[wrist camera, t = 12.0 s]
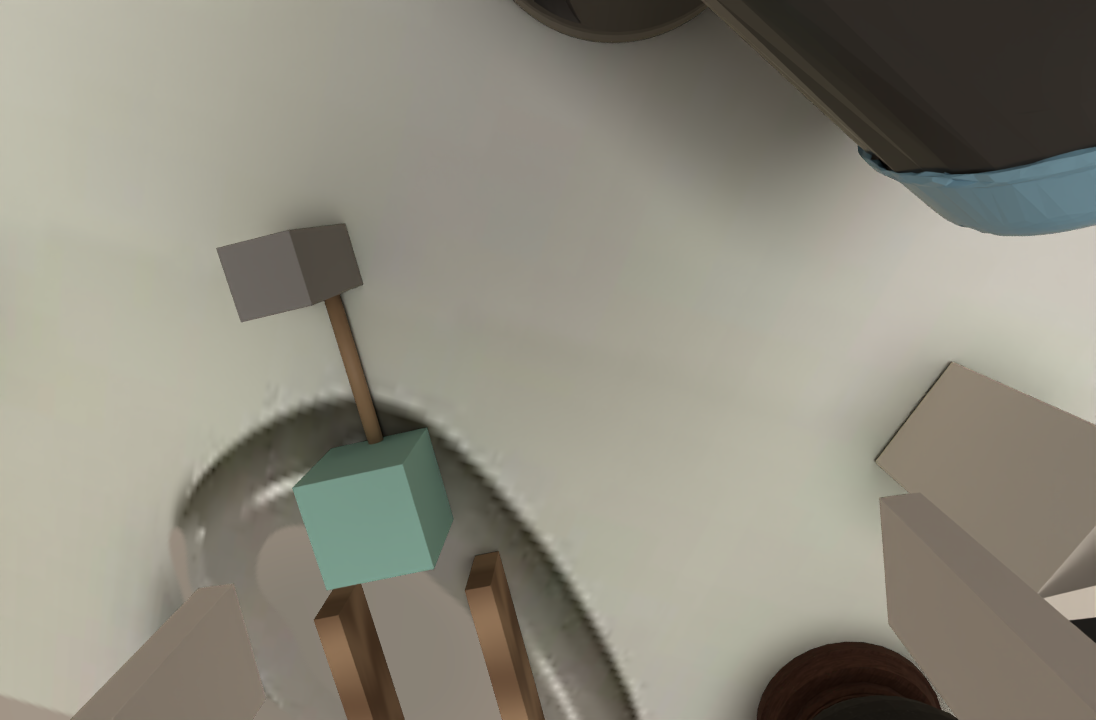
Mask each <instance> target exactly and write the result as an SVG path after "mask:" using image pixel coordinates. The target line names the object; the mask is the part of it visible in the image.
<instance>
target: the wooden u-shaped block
mask: <svg viewBox="0 0 1096 720" xmlns="http://www.w3.org/2000/svg"><path fill="white" fill-rule="evenodd" d="M465 593H466V596H467V600H468V603H469V607H470V610H471V614H472V617H473V620H474V624H475V627H476V631H477V634H478V638H479V641H480V645H481V648H482V651H483V655H484V658H485V662H486V665H487V669H488V672H489V676H490V679H491V683H492V686H493V690H494V693H495V697H496V700H497V703H498V707H499V710H500V714H501V717H502V720H545V718H544V715H543V711H542V707H541V704H540V700H539V697H538V693H537V689H536V686H535V682H534V678H533V675H532V671H531V667H530V664H529V660H528V656H527V653H526V649H525V645H524V642H523V638H522V635H521V631H520V627H519V624H518V620H517V616H516V613H515V609H514V605H513V602H512V598H511V594H510V591H509V587H508V584H507V580H506V576H505V573H504V569H503V565H502V562H501V558H500V554H499V551H497V552H492V553H487V554H482V555H477V556H475V558H474V561H473V565H472V568H471V572H470V575H469V578H468V582H467V585H466V589H465ZM314 622H315V625H316V628H317V631H318V634H319V637H320V640H321V643H322V646H323V649H324V651H325V654H326V657H327V660H328V663H329V666H330V669H331V672H332V675H333V678H334V681H335V684H336V687H337V690H338V693H339V696H340V699H341V701H342V704H343V707H344V710H345V713H346V716H347V719H348V720H404V716H403V713H402V710H401V707H400V703H399V700H398V697H397V694H396V691H395V688H394V685H393V682H392V678H391V675H390V672H389V669H388V666H387V663H386V660H385V657H384V654H383V651H382V647H381V644H380V641H379V638H378V635H377V632H376V629H375V626H374V622H373V619H372V617H371V613H370V610H369V607H368V604H367V601H366V598H365V595H364V591H363V588H362V585H361V584H356V585H351V586H346V587H341V588H336V589H333V590H332V592H331V594H330V595H329V597H328V598H327V600H326V601H325V603H324V605H323V606H322V608H321V609H320V611H319V613H318V614H317V616H316V617H315V619H314Z"/></svg>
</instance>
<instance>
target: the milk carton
mask: <svg viewBox="0 0 1096 720" xmlns="http://www.w3.org/2000/svg"><path fill="white" fill-rule="evenodd" d="M876 464H878V465H879V466H880V467H881V468H882V469H883V470H884V471H885V472H886V473H887V474H889V475H890V476H891V477H892V478H893V479H894V480H895V481H896V482H897V483H899V484H900V485H901V486H902V487H903V488H904V489H905V490H906V491H907V492H909V493H918V492H920V493H921V494H922V495H924V496H925V497H926V498H927V499H928V500H929V501H931V502H932V503H933V504H934V505H935V506H936V507H938V508H939V509H940V510H941V511H942V512H943V513H945V514H946V515H947V516H948V517H949V518H950V519H952V520H953V521H954V522H955V523H956V524H957V525H959V526H960V527H961V528H962V529H963V530H964V531H966V532H967V533H968V534H969V535H970V536H971V537H972V538H974V539H975V540H976V541H977V542H978V543H979V544H981V545H982V546H983V547H984V548H985V549H986V550H988V551H989V552H990V553H991V554H992V555H993V556H995V557H996V558H997V559H998V560H999V561H1000V562H1002V563H1003V564H1004V565H1005V566H1006V567H1007V568H1009V569H1010V570H1011V571H1012V572H1013V573H1014V574H1016V575H1017V576H1018V577H1019V578H1020V579H1021V580H1023V581H1024V582H1025V583H1026V584H1027V585H1028V586H1029V587H1031V588H1032V589H1033V590H1034V591H1035V592H1036V593H1038V594H1039V595H1040V596H1041V597H1042V598H1043V599H1045V600H1046V601H1047V602H1048V603H1049V604H1050V605H1052V606H1053V607H1054V608H1055V609H1056V610H1057V611H1059V612H1060V613H1061V614H1062V615H1063V616H1064V617H1066V618H1067V619H1068V620H1076V619H1085V618H1093V617H1096V425H1095V424H1092V423H1090V422H1088V421H1086V420H1083V419H1081V418H1079V417H1077V416H1074V415H1072V414H1070V413H1068V412H1065V411H1063V410H1061V409H1059V408H1056V407H1054V406H1052V405H1050V404H1047V403H1045V402H1043V401H1040V400H1038V399H1036V398H1034V397H1031V396H1029V395H1027V394H1025V393H1022V392H1020V391H1018V390H1016V389H1013V388H1011V387H1009V386H1007V385H1004V384H1002V383H1000V382H998V381H995V380H993V379H991V378H988V377H986V376H984V375H982V374H979V373H977V372H975V371H973V370H970V369H968V368H966V367H964V366H961V365H959V364H957V363H954V362H952V363H951V364H950V365H949V366H948V368H947V369H946V370H945V372H944V373H943V374H942V375H941V377H940V378H939V379H938V381H937V382H936V383H935V385H934V386H933V387H932V388H931V390H930V391H929V392H928V394H927V395H926V396H925V398H924V399H923V400H922V401H921V403H920V404H919V405H918V407H917V408H916V409H915V411H914V412H913V413H912V414H911V416H910V417H909V418H908V420H907V421H906V422H905V424H904V425H903V426H902V427H901V429H900V430H899V431H898V433H897V434H896V435H895V437H894V438H893V439H892V441H891V442H890V443H889V444H888V446H887V447H886V448H885V450H884V451H883V452H882V454H881V455H880V456H879V457H878V459H877V460H876Z"/></svg>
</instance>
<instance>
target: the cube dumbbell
mask: <svg viewBox="0 0 1096 720" xmlns="http://www.w3.org/2000/svg"><path fill="white" fill-rule="evenodd" d="M216 249H217V252H218V255H219V258H220V261H221V264H222V267H223V270H224V273H225V276H226V279H227V282H228V285H229V288H230V291H231V294H232V297H233V300H234V303H235V306H236V309H237V312H238V315H239V318H240V321H241V322H245V321H249V320H253V319H257V318H261V317H266V316H270V315H274V314H278V313H282V312H286V311H290V310H295V309H299V308H303V307H307V306H311V305H314V304H316V303H319V302H321V301H325V305H326V308H327V311H328V314H329V318H330V321H331V324H332V327H333V330H334V334H335V337H336V340H337V343H338V347H339V350H340V353H341V356H342V360H343V363H344V366H345V369H346V373H347V376H348V379H349V382H350V386H351V389H352V392H353V395H354V399H355V402H356V405H357V408H358V412H359V415H360V418H361V421H362V424H363V428H364V431H365V434H366V437H367V441H363V442H358V443H354V444H349V445H345V446H340V447H336V448H331V449H330V450H329V451H328V452H327V453H326V454H325V455H324V456H323V457H322V458H321V459H320V460H319V461H318V462H317V463H316V465H315V466H314V467H313V468H312V469H311V470H310V471H309V472H308V473H307V474H306V475H305V476H304V477H303V478H302V479H301V480H300V481H299V482H298V483H297V484H296V485H295V486H294V487H293V488H292V489H293V492H294V495H295V498H296V501H297V503H298V506H299V509H300V512H301V515H302V518H303V521H304V524H305V527H306V530H307V533H308V536H309V539H310V542H311V545H312V548H313V551H314V554H315V557H316V560H317V563H318V566H319V568H320V572H321V575H322V578H323V581H324V583H325V587H326V590H331V589H336V588H341V587H346V586H351V585H356V584H361V583H366V582H371V581H376V580H381V579H386V578H391V577H396V576H401V575H406V574H411V573H416V572H421V571H426V570H431V569H434V567H435V565H436V562H437V560H438V557H439V555H440V552H441V550H442V547H443V545H444V542H445V539H446V537H447V534H448V532H449V529H450V527H451V524H452V522H453V516H452V512H451V509H450V505H449V502H448V499H447V495H446V492H445V488H444V485H443V481H442V478H441V474H440V471H439V467H438V464H437V460H436V457H435V454H434V450H433V447H432V443H431V440H430V436H429V433H428V429H427V427H426V428H422V429H417V430H413V431H408V432H404V433H399V434H395V435H390V436H386V437H383V436H382V432H381V429H380V426H379V422H378V419H377V416H376V412H375V409H374V406H373V403H372V399H371V396H370V393H369V389H368V386H367V383H366V380H365V376H364V373H363V370H362V366H361V363H360V360H359V356H358V353H357V350H356V347H355V343H354V340H353V337H352V333H351V330H350V327H349V324H348V320H347V317H346V314H345V310H344V307H343V304H342V300H341V297H340V294H341V293H343V292H346V291H348V290H351V289H353V288H356V287H358V286H361V285H363V282H362V279H361V275H360V272H359V268H358V265H357V262H356V258H355V255H354V252H353V248H352V245H351V241H350V238H349V235H348V231H347V228H346V224H336V225H327V226H319V227H310V228H302V229H293V230H287V231H283V232H279V233H275V234H271V235H267V236H263V237H259V238H255V239H251V240H247V241H243V242H239V243H235V244H231V245H227V246H223V247H219V248H216Z"/></svg>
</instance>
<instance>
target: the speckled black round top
mask: <svg viewBox="0 0 1096 720" xmlns="http://www.w3.org/2000/svg"><path fill="white" fill-rule="evenodd" d="M757 720H958V719H957V718H956V717H954V716H953V715H951V714H950V713H947V712H945V711H943V710H941V707H940V704H939V701H938V698H937V695H936V693H935V692H934V690H933V689H932V687H931V685H930V684H929V682H928V681H927V679H926V678H925V676H924V675H923V674H922V673H921V672H920V670H919V669H918V668H917V667H916V666H915V665H914V664H913V663H912V662H910V661H909V660H907V659H906V658H904V657H903V656H901V655H900V654H898V653H897V652H894V651H892V650H890V649H887V648H885V647H882V646H879V645H874V644H869V643H864V642H841V643H833V644H827V645H824V646H821V647H818V648H814V649H811V650H809V651H807V652H805V653H803V654H801V655H799V656H798V657H796V658H794V659H793V660H792V661H790V662H789V663H788V664H786V665H785V666H784V667H782V668H781V669H780V670H779V672H778V673H777V674H776V675H775V676H774V677H773V678H772V679H771V681H770V682H769V684H768V686H767V687H766V689H765V691H764V693H763V694H762V697H761V701H760V704H759V707H758V712H757Z"/></svg>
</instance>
